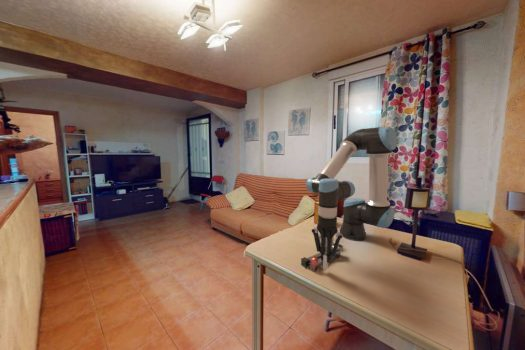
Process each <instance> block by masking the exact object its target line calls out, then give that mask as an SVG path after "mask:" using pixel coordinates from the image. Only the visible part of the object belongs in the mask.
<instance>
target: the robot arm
mask: <svg viewBox="0 0 525 350" xmlns="http://www.w3.org/2000/svg"><path fill="white" fill-rule="evenodd" d="M396 133H397V132H396V131H395V129H394V128H393V127H392V126H377V127H369V128H360V129H357V130H355V131H353V132H352V133H350V134H349V135H348V136H346V137H345V138H344V139H343V140H342V141H341V142H340V144H339V148H338V149H337V150H336V151H335V153H334V154H333V155H332V156H331V158H330V159H329V160H328V161H327V163H326V164H325V165H324V167H322V169H321V170H320V172H318V174H317V175H316V176H315V177H310V178H308V179H307V181H306V183H305V187H306V190H307V191H308V192H310V193H313V194H318V202H319V206H318V214H319V216H318V225H316V227H313V228H312V229H311V232H312V234H313V239H314V242H315V243H314V244H315V249H316V252H318V253H321V261H323V266H322V270H324V271H327V270H328V268H329V263H331V261H332V260H331V255H332V256H334V255H335V253H336V251H337V247H338V244H340V241H341V240H342V238H345V239H346V240H347V239H348V240H352V241H363V240H366V239H367V232H366V229H365V228H366V227H365V225H364V223H365V224H367V225H372V226H374V227H377V228H382V229H386V228H389V227H390V226H391V224H392V223H393V220H394V218H395V215H396V214H395V209H394V207H391V202H390V201H389V200H388V180H389V179H388V175H389V174H388V173H389V169H388V168H389V156H390V155H391V154H392V152H393V150H395V149H396V148H397V144H398V138H397V137H398V136H397V134H396ZM358 151H365V154H366V156H368V157H369V159H368V160H369V161H368V162H369V163H368V165H369V166H368V172H369V173H368V174H369V175H368V199H367V200H365V198H356V197H354V198H353V197H352V196H353V195H354V194H355V192H356V187H355V184H353V182H351V181H349V180H342V181H340V180H338V179H336V178H335V177H336V176H337V175H338V174H339V173H340V172H341V170H342V168H344V166H345V164H346V163H347V162H348V161H349V160H350V158H351V157H352V155H356V153H357V152H358ZM343 199H345V200H344V202H343V216H342V223H341V227H340V229H339V231H338V226H337V225H338V217H337V216H338V202H339V201H340V200H343ZM319 234H321V244H320V240H319ZM335 235H336V236H335ZM333 236H335V237H336V239H335V240H334V243H335V244H334V247H333V250H332V237H333ZM326 237H327V248H325V247H326ZM326 250H327V253H326V252H325V251H326Z"/></svg>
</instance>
